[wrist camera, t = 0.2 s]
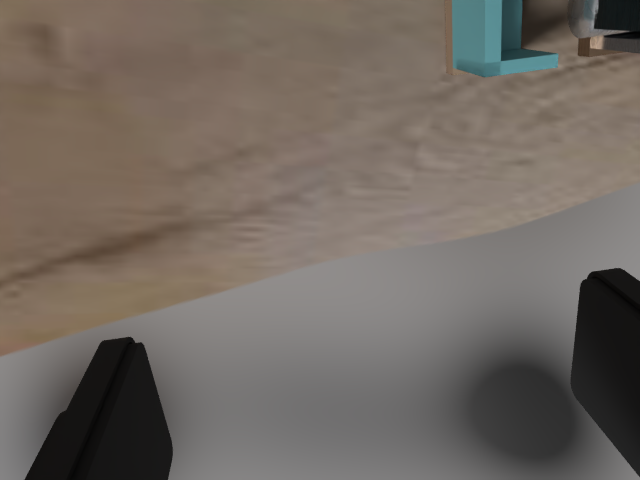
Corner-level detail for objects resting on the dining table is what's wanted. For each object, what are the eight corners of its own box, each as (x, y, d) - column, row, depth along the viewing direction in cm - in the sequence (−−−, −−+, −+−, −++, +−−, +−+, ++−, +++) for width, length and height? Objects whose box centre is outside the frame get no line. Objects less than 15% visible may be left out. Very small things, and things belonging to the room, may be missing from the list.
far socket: (509, -40, 37) (564, -52, 30) (506, 64, 40) (557, 75, 33) (444, -32, 37) (485, -42, 30) (446, 73, 39) (484, 85, 33)
